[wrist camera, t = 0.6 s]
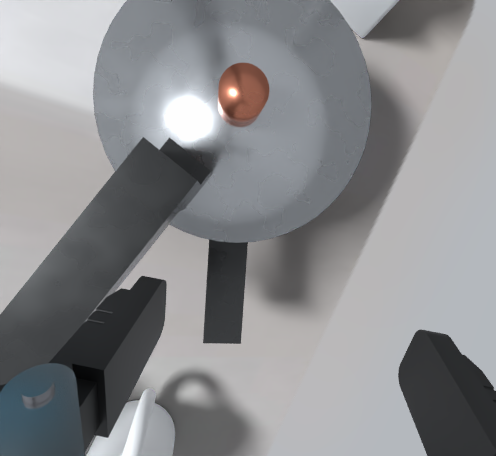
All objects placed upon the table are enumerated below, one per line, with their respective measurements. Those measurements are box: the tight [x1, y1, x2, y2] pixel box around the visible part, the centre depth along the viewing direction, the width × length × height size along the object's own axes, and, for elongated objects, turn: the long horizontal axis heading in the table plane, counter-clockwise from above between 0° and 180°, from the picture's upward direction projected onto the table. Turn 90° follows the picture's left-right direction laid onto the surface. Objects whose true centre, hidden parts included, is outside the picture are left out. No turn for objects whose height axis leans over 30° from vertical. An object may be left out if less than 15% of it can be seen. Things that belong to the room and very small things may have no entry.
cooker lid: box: [0, 0, 371, 385], centre depth 18 cm, size 28×19×9 cm, turn 141°
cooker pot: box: [203, 239, 248, 344], centre depth 29 cm, size 27×18×11 cm, turn 176°
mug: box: [87, 388, 175, 456], centre depth 30 cm, size 12×8×10 cm
